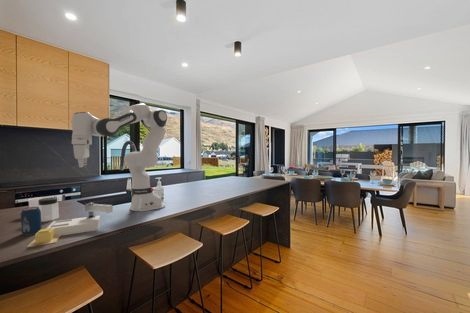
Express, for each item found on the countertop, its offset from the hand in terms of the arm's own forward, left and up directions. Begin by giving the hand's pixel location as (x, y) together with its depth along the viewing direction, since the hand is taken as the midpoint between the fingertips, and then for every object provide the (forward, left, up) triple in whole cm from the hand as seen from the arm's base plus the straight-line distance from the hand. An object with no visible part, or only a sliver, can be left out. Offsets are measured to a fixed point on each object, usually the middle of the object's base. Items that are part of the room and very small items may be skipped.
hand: (82, 166), depth 114 cm
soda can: (+20, +6, -31) cm, 38 cm away
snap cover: (+11, +21, -31) cm, 39 cm away
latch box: (+2, +11, -31) cm, 33 cm away
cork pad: (+11, +21, -31) cm, 39 cm away
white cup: (+28, -30, -31) cm, 52 cm away
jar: (+19, -15, -31) cm, 40 cm away
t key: (-8, +10, -27) cm, 30 cm away
